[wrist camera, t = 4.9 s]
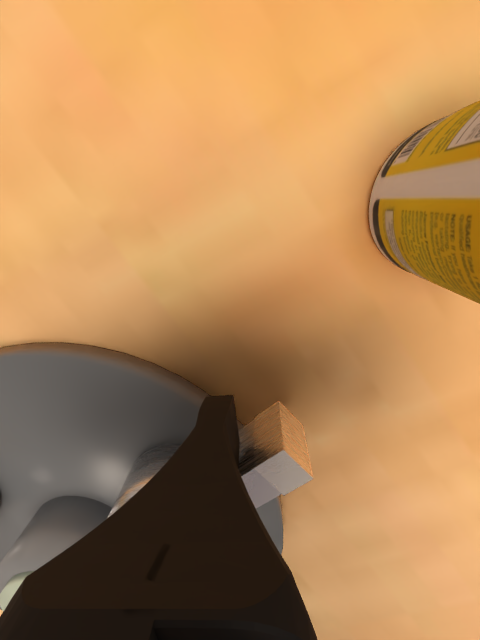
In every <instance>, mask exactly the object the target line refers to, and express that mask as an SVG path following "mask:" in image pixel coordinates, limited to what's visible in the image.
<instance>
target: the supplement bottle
mask: <svg viewBox="0 0 480 640" xmlns="http://www.w3.org/2000/svg"><path fill="white" fill-rule="evenodd" d="M369 223H370V230H371V233H372V236H373V239H374V241H375V243H376V245H377V247H378V249H379V250H380V251H381V252H382V254H383V255H384V256H385V257H386V258H387V259H388V260H389V261H390V262H392V263H393V264H395V265H396V266H398V267H400V268H402V269H403V270H405V271H408V272H410V273H412V274H414V275H417V276H419V277H421V278H423V279H426V280H428V281H430V282H432V283H434V284H437V285H439V286H441V287H443V288H446V289H448V290H450V291H453V292H455V293H457V294H459V295H461V296H464V297H466V298H468V299H470V300H473V301H475V302H477V303H480V101H478V102H476V103H473V104H471V105H469V106H467V107H465V108H463V109H461V110H459V111H457V112H454V113H453V114H451V115H448V116H446V117H444V118H442V119H440V120H437V121H435V122H433V123H431V124H429V125H427V126H425V127H424V128H422V129H420V130H418V131H417V132H415V133H414V134H412V135H411V136H410V137H408V138H407V139H406V140H405V141H404V142H403V143H401V144H400V145H399V146H398V147H397V148H396V149H395V151H394V152H393V153H392V154H391V155H390V156H389V158H388V159H387V161H386V162H385V163H384V165H383V167H382V168H381V170H380V172H379V174H378V176H377V178H376V180H375V183H374V186H373V189H372V193H371V198H370V205H369Z"/></svg>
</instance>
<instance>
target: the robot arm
mask: <svg viewBox="0 0 480 640" xmlns="http://www.w3.org/2000/svg"><path fill="white" fill-rule="evenodd" d="M239 450H240V439H239V432H238V425H237V418H236V411H235V404H234V397H233V395H225V396H209V397H205V399H204V401H203V402H202V405H201V407H200V409H199V413H198V417H197V422H196V426H195V427H194V429H193V430H192V431H191V433H190V434H189V436H188V437H187V438H186V440H185V441H184V442H183V443H182V445H181V446H180V447H179V448H178V449H177V451H176V452H175V453H174V454H173V456H172V457H171V458H170V459H169V460H168V461H167V463H166V464H165V465H164V466H163V467H162V468H161V469H160V470H159V471H158V472H157V473H156V474H155V475H154V476H153V478H152V479H151V480H150V481H149V482H148V483H147V484H146V485H145V486H144V487H142V488H141V489H140V490H139V491H138V492H137V493H136V494H135V495H134V496H133V497H132V498H130V499H129V500H128V501H127V502H126V503H125V504H124V505H123V506H122V507H120V508H119V509H118V510H117V511H116V512H115V513H113V514H112V515H111V516H110V517H108V518H107V519H106V520H105V521H103V522H102V523H101V524H100V525H98V526H97V527H96V528H95V529H93V530H92V531H91V532H89V533H88V534H87V535H85V536H84V537H83V538H81V539H80V540H79V541H77V542H76V543H75V544H73V545H72V546H70V547H69V548H67V549H66V550H65V551H63V552H62V553H60V554H59V555H57V556H56V557H54V558H53V559H51V560H50V561H49V562H47V563H46V564H44V565H43V566H41V567H40V568H38V569H37V570H35V571H34V572H32V573H31V574H29V575H28V576H26V577H25V579H24V580H23V582H22V583H21V585H20V586H19V588H18V589H17V591H16V592H15V594H14V595H13V597H12V599H11V600H10V602H9V603H8V605H7V607H6V608H5V610H4V612H3V613H2V615H1V617H0V640H317V637H316V634H315V631H314V628H313V625H312V623H311V620H310V618H309V615H308V612H307V610H306V607H305V605H304V602H303V600H302V598H301V595H300V593H299V590H298V588H297V586H296V583H295V580H294V578H293V575H292V572H291V571H290V569H289V567H288V566H287V564H286V562H285V561H284V559H283V558H282V556H281V554H280V553H279V551H278V549H277V547H276V546H275V544H274V542H273V541H272V539H271V537H270V535H269V533H268V532H267V530H266V528H265V526H264V524H263V522H262V520H261V518H260V516H259V514H258V512H257V510H256V508H255V506H254V504H253V502H252V500H251V498H250V496H249V494H248V491H247V489H246V487H245V484H244V482H243V480H242V477H241V474H240V472H239Z"/></svg>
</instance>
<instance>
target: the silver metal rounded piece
mask: <svg viewBox="0 0 480 640" xmlns="http://www.w3.org/2000/svg"><path fill="white" fill-rule="evenodd" d="M238 432H239V439H240V450H239V472H240V474H241V477H242V480H243V482H244V484H245V487H246V489H247V491H248V494H249V496H250V498H251V500H252V502H253V504H254V506H255V508H258V507H260V506H262V505H263V504H265V503H267V502H269V501H270V500H272V499H274V498H276V497H277V496H279V495H281V494H283V495H286V494H288V493H289V492H291V491H293V490H295V489H296V488H298V487H300V486H302V485H303V484H305V483H307V482H309V481H311V480H312V479H313V473H312V468H311V463H310V458H309V453H308V448H307V443H306V438H305V433H304V428H303V425H302V424H301V423H300V422H299V421H298V420H297V418H296V417H295V416H294V415H293V414H292V413H291V412H290V411H289V410H288V409H287V408H286V407H285V406H284V405H283V404H282V403H281V402H280V401H279V400H278V401H277V402H276V403H274V404H273V405H271V406H270V407H268V408H267V409H265V410H264V411H262V412H261V413H259V414H258V415H257V416H255V419H254V420H252V421H251V422H249V423H248V424H247V425H245V426H244V427H242V428H241V429H239V430H238ZM181 445H182V444H166V445H160V446H157V447H154V448H151V449H149V450H147V451H145V452H144V453H142V454H141V455H140V456H139V457H138V458H137V459H136V460H135V462H134V464H133V465H132V468H131V470H130V472H129V474H128V476H127V478H126V480H125V482H124V484H123V486H122V488H121V490H120V492H119V495H118V497H117V499H116V501H115V503H114V505H113V507H112V509H111V511H110V513H109V515H108V517H110V516H111V515H112V514H113V513H115V512H116V511H117V510H118V509H119V508H120V507H122V506H123V505H124V504H125V503H126V502H127V501H128V500H129V499H130V498H132V497H133V496H134V495H135V494H136V493H137V492H138V491H139V490H140V489H141V488H142V487H144V486H145V485H146V484H147V483H148V482H149V481H150V480H151V479H152V478H153V476H154V475H155V474H156V473H157V472H158V471H159V470H160V469H161V468H162V467H163V466H164V465H165V464H166V463H167V461H168V460H169V459H170V458H171V457H172V456H173V454H174V453H175V452H176V451H177V449H178V448H179V447H180V446H181ZM108 517H107V518H108Z"/></svg>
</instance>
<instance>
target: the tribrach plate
mask: <svg viewBox="0 0 480 640" xmlns="http://www.w3.org/2000/svg"><path fill="white" fill-rule="evenodd" d="M209 396H210V395H209V394H207V393H206V392H205V391H203V390H201V389H200V388H198V387H197V386H195V385H193V384H192V383H190V382H188V381H187V380H185V379H184V378H182V377H180V376H178V375H176V374H174V373H172V372H170V371H168V370H166V369H164V368H162V367H159V366H157V365H155V364H153V363H150V362H148V361H145V360H142V359H139V358H136V357H133V356H130V355H127V354H125V353H121V352H117V351H112V350H108V349H103V348H99V347H95V346H88V345H79V344H70V343H30V344H23V345H15V346H8V347H4V348H0V609H1V610H3V612H4V610H5V608H6V607H7V605H8V603H9V602H10V600H11V599H12V597H13V595H14V594H15V592H16V591H17V589H18V588H19V586H20V585H21V583H22V582H23V580H24V579H25V577H26V576H28V575H29V574H31V573H32V572H34V571H35V570H37V569H38V568H40V567H41V566H43V565H44V564H46V563H47V562H49V561H50V560H51V559H53V558H54V557H56V556H57V555H59V554H60V553H62V552H63V551H65V550H66V549H67V548H69V547H70V546H72V545H73V544H75V543H76V542H77V541H79V540H80V539H81V538H83V537H84V536H85V535H87V534H88V533H89V532H91V531H92V530H93V529H95V528H96V527H97V526H98V525H100V524H101V523H102V522H103V521H105V520H106V519H107V517H108V515H109V513H110V511H111V509H112V507H113V505H114V503H115V501H116V499H117V497H118V495H119V492H120V490H121V488H122V486H123V484H124V482H125V480H126V478H127V476H128V474H129V472H130V470H131V468H132V465H133V464H134V462H135V460H136V459H137V458H138V457H139V456H140V455H141V454H142V453H144V452H145V451H147V450H149V449H151V448H154V447H157V446H160V445H166V444H182V443H183V442H184V441H185V440H186V438H187V437H188V436H189V434H190V433H191V431H192V430H193V429H194V427H195V426H196V422H197V417H198V413H199V409H200V407H201V405H202V402H203V401H204V399H205V397H209ZM237 425H238V430H239V429H241V428H242V427H244V426H243V425H242V424H241V423H240V422H239V421H238V420H237ZM256 510H257V512H258V514H259V516H260V518H261V520H262V522H263V524H264V526H265V528H266V530H267V532H268V533H269V535H270V537H271V539H272V541H273V542H274V544H275V546H276V547H277V549H278V551H279V553H280V554H281V553H282V549H283V521H282V507H281V501H280V495H279V496H277V497H276V498H274V499H272V500H270V501H269V502H267V503H265V504H263V505H262V506H260V507H258V508H256Z"/></svg>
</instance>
